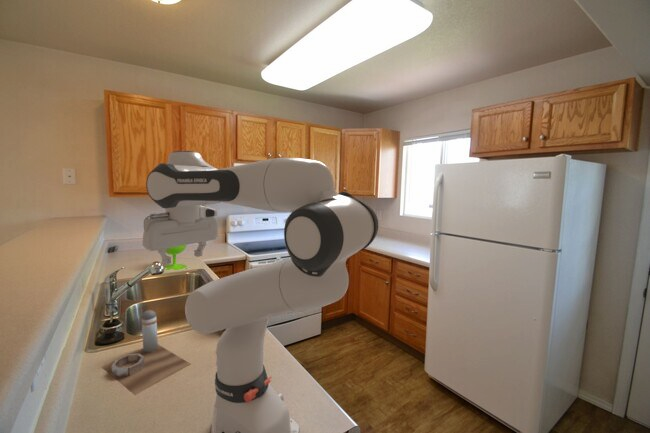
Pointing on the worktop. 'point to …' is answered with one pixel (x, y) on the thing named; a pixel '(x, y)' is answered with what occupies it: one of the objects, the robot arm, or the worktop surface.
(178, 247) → the wineglass
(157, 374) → the jig board
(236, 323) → the robot arm
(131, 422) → the worktop surface
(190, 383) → the worktop surface
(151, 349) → the cylinder
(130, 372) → the cradle
